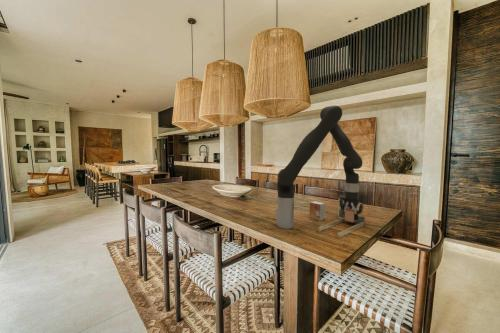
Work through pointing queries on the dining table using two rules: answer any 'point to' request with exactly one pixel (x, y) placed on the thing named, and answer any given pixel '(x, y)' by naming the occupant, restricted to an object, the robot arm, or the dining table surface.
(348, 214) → the block
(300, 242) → the dining table surface
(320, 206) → the small box
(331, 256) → the dining table surface
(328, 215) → the dining table surface
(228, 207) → the dining table surface
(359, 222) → the guide channel
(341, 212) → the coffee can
